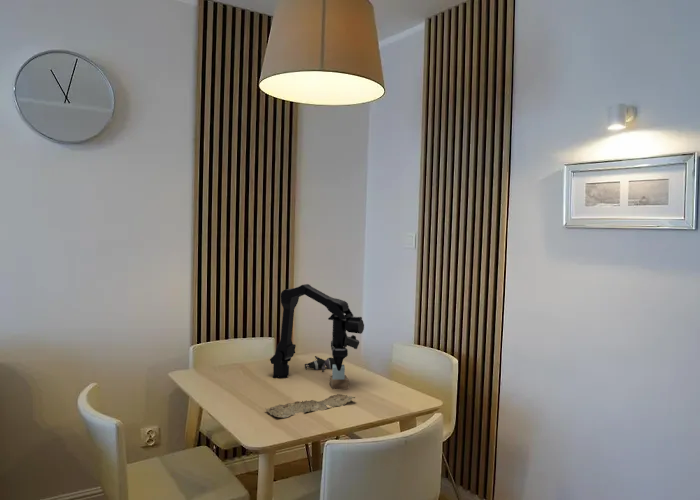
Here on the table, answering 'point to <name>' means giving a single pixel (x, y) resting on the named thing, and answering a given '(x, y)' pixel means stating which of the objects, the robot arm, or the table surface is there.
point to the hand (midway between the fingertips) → (338, 367)
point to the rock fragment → (308, 406)
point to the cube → (338, 372)
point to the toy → (321, 364)
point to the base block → (339, 383)
